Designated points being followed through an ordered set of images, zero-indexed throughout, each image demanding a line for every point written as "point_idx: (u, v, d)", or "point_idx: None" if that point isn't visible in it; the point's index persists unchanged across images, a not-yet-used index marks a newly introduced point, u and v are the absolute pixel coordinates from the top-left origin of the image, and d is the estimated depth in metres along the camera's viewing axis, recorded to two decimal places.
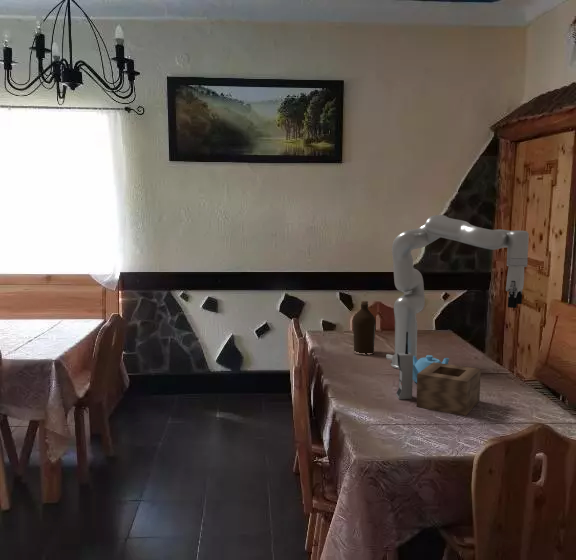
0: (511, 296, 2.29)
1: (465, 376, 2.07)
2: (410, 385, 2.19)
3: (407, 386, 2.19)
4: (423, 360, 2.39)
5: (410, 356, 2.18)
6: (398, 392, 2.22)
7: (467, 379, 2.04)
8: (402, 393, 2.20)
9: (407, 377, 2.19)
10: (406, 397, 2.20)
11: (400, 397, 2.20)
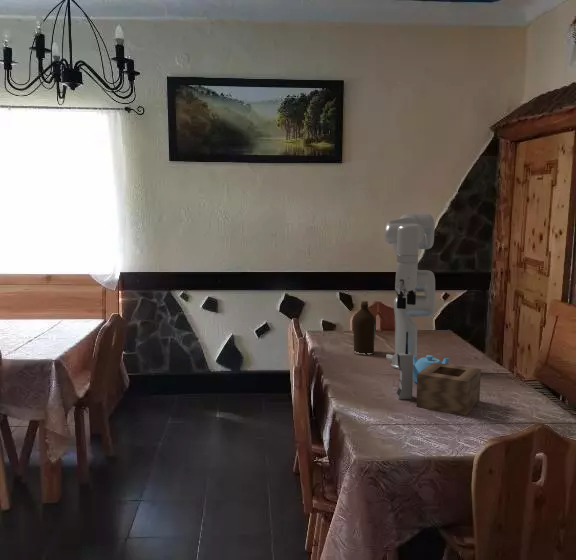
0: (399, 296, 2.11)
1: (465, 376, 2.07)
2: (410, 385, 2.19)
3: (407, 386, 2.19)
4: (423, 360, 2.39)
5: (410, 356, 2.18)
6: (398, 392, 2.22)
7: (467, 379, 2.04)
8: (402, 393, 2.20)
9: (407, 377, 2.19)
10: (406, 397, 2.20)
11: (400, 397, 2.20)
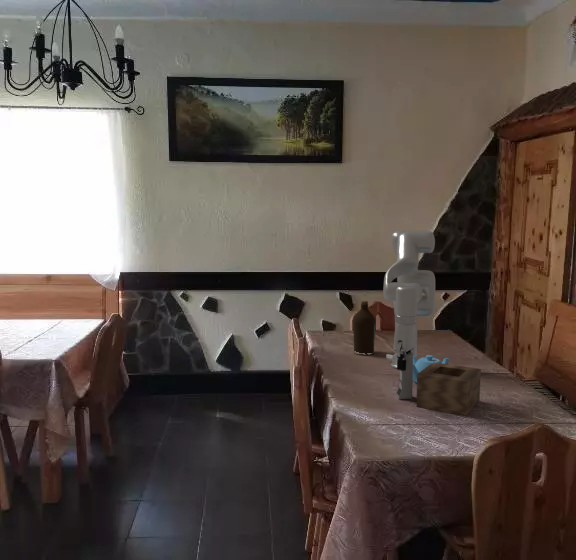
0: (399, 358, 2.16)
1: (465, 376, 2.07)
2: (410, 385, 2.19)
3: (407, 386, 2.19)
4: (423, 360, 2.39)
5: (410, 356, 2.18)
6: (398, 392, 2.22)
7: (467, 379, 2.04)
8: (402, 393, 2.19)
9: (407, 377, 2.19)
10: (406, 397, 2.20)
11: (400, 397, 2.20)
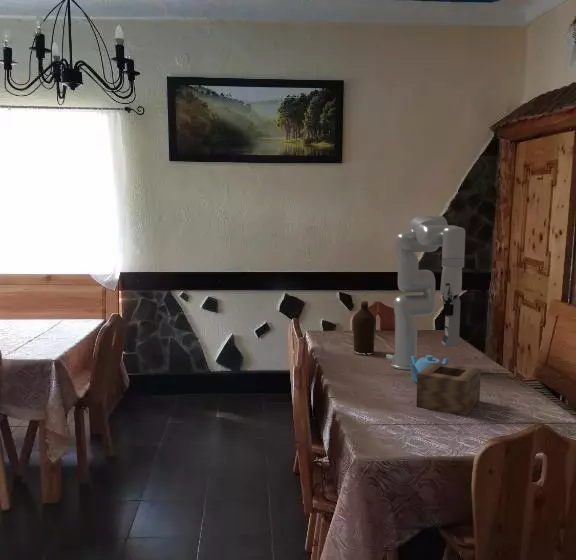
0: (447, 303, 2.06)
1: (465, 376, 2.07)
2: (457, 331, 2.10)
3: (454, 332, 2.10)
4: (423, 360, 2.39)
5: (457, 301, 2.08)
6: (444, 339, 2.12)
7: (467, 379, 2.04)
8: (448, 340, 2.10)
9: (454, 323, 2.09)
10: (453, 344, 2.10)
11: (446, 344, 2.10)
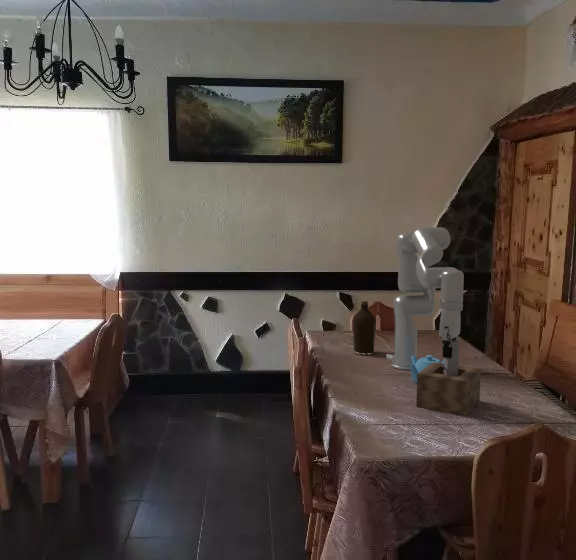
0: (445, 345, 2.08)
1: (465, 376, 2.07)
2: (456, 373, 2.12)
3: (453, 374, 2.12)
4: (423, 360, 2.39)
5: (456, 343, 2.10)
6: None
7: (467, 379, 2.04)
8: None
9: (452, 364, 2.11)
10: None
11: None
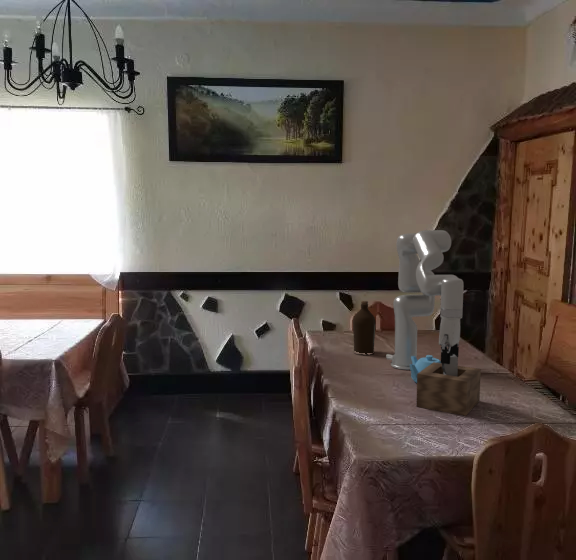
0: (444, 351, 2.07)
1: (465, 376, 2.07)
2: None
3: None
4: (423, 360, 2.39)
5: (455, 358, 2.11)
6: None
7: (467, 379, 2.04)
8: None
9: None
10: None
11: None
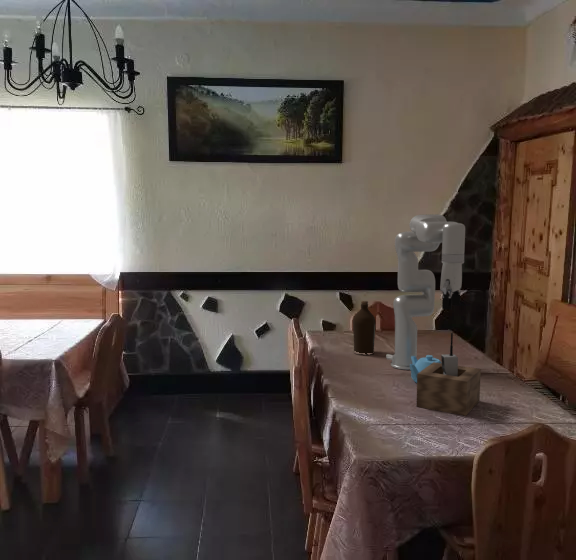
0: (445, 296, 2.05)
1: (465, 376, 2.07)
2: None
3: None
4: (423, 360, 2.39)
5: (455, 358, 2.11)
6: None
7: (467, 379, 2.04)
8: None
9: None
10: None
11: None
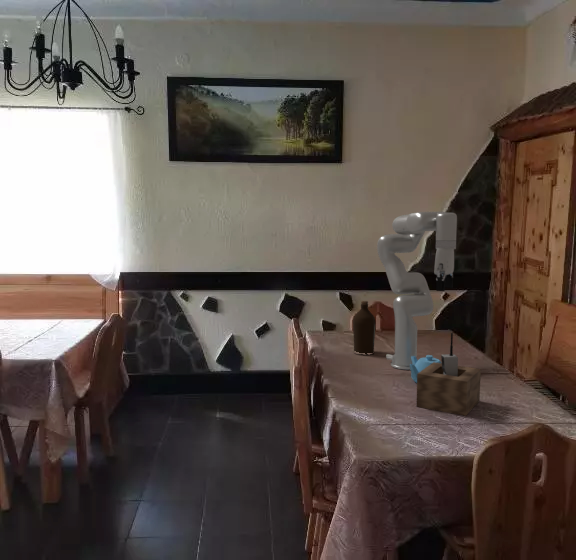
0: (439, 279, 2.25)
1: (465, 376, 2.07)
2: None
3: None
4: (423, 360, 2.39)
5: (455, 358, 2.11)
6: None
7: (467, 379, 2.04)
8: None
9: None
10: None
11: None
